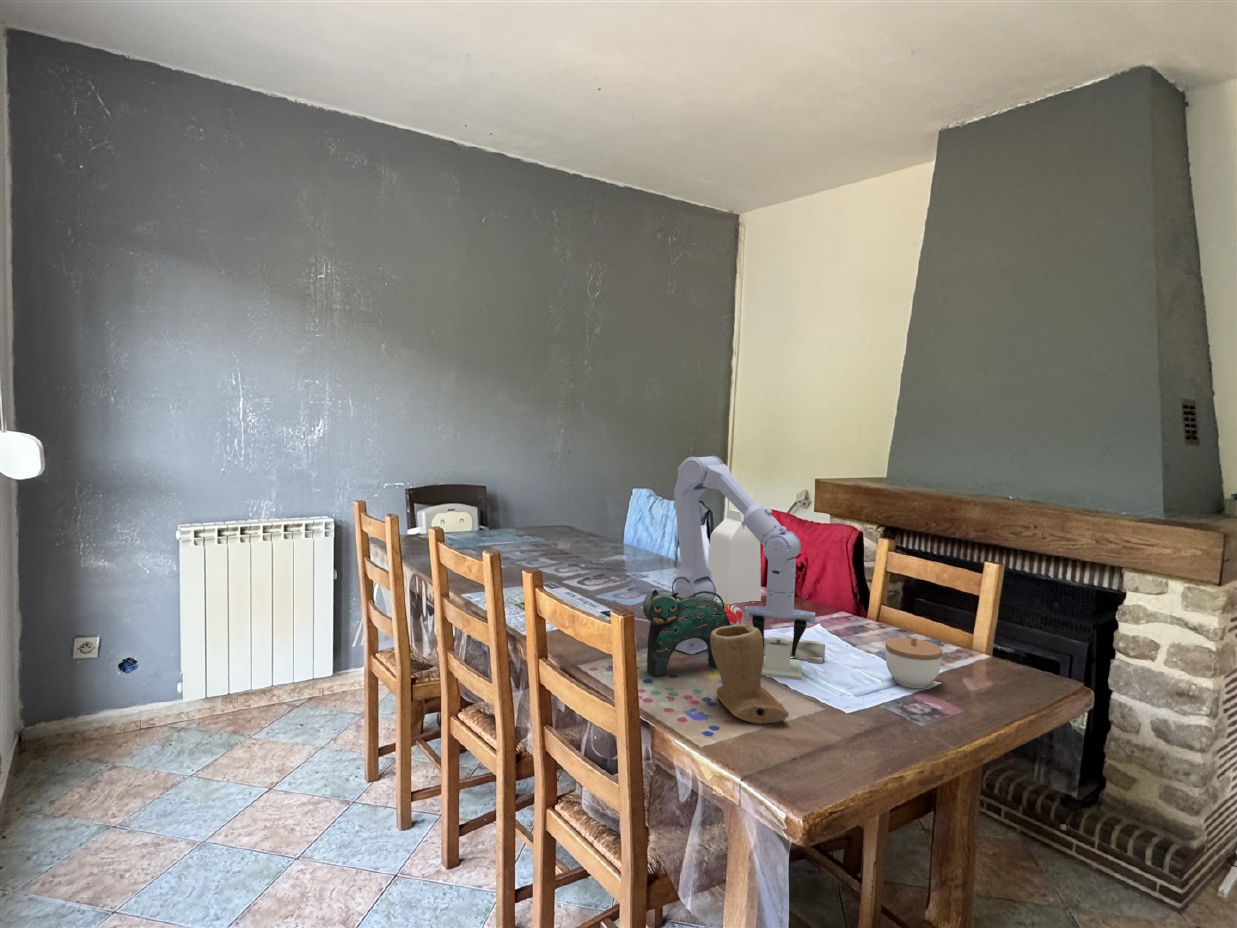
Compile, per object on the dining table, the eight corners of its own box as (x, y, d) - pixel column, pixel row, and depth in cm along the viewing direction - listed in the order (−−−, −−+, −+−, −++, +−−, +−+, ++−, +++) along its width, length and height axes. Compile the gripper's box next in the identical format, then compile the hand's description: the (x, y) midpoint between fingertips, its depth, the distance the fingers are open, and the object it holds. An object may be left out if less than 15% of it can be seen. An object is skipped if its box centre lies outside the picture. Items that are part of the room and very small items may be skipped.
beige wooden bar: (823, 658, 156) (824, 640, 156) (824, 664, 152) (825, 646, 152) (733, 648, 161) (734, 631, 161) (732, 653, 157) (732, 636, 157)
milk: (705, 594, 209) (708, 508, 207) (737, 591, 214) (740, 507, 212) (727, 605, 198) (731, 514, 196) (760, 601, 203) (764, 512, 201)
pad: (801, 662, 153) (801, 660, 153) (801, 679, 143) (801, 676, 143) (754, 657, 155) (754, 655, 155) (751, 673, 146) (751, 670, 145)
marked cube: (789, 662, 151) (790, 639, 151) (789, 670, 146) (790, 646, 146) (765, 659, 152) (766, 636, 152) (764, 667, 148) (765, 644, 147)
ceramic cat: (648, 680, 141) (651, 582, 139) (635, 668, 147) (638, 574, 145) (733, 669, 148) (737, 576, 147) (718, 658, 154) (721, 569, 153)
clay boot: (700, 693, 134) (703, 617, 133) (760, 692, 136) (763, 616, 135) (723, 729, 119) (726, 643, 118) (789, 726, 121) (793, 642, 120)
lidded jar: (872, 676, 146) (874, 632, 146) (912, 670, 150) (915, 627, 149) (910, 695, 136) (912, 648, 136) (952, 689, 140) (955, 643, 139)
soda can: (746, 630, 172) (744, 648, 161) (718, 631, 174) (713, 649, 163) (743, 602, 172) (740, 618, 160) (715, 603, 174) (709, 619, 162)
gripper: (815, 588, 150) (812, 650, 151) (747, 582, 154) (744, 643, 155) (816, 596, 143) (813, 661, 144) (744, 590, 147) (742, 653, 148)
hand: (777, 652), depth 149 cm, fingers open, 6 cm apart
